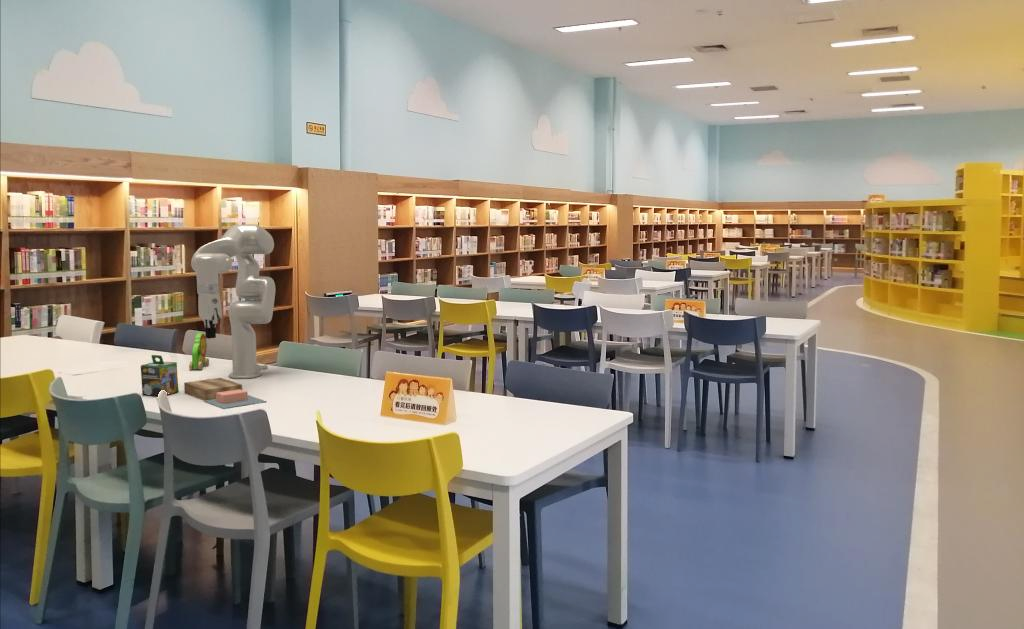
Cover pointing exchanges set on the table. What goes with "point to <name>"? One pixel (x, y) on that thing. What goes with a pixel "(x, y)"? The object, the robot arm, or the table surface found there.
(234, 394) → the salmon pink block
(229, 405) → the mat
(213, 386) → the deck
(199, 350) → the toy lion
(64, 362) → the table surface
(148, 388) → the green printed box
